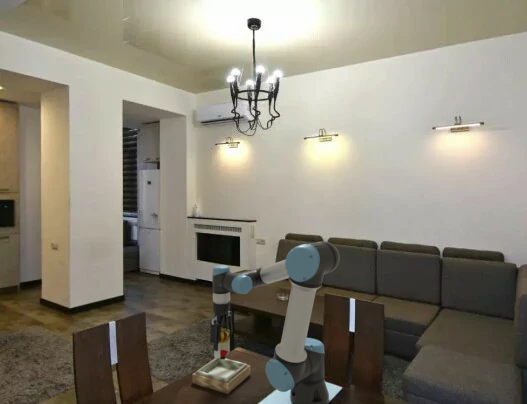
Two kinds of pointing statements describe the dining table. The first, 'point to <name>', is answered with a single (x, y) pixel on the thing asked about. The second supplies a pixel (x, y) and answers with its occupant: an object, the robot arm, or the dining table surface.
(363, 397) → the dining table surface
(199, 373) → the square wooden tray
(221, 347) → the toy
